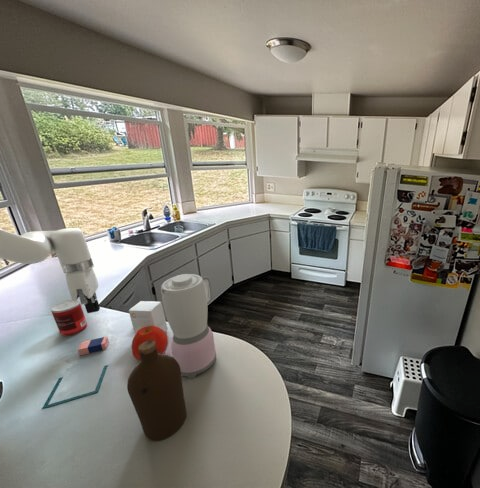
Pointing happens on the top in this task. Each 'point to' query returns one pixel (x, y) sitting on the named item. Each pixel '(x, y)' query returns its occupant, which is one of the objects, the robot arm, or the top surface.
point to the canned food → (69, 317)
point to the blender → (189, 322)
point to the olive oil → (157, 393)
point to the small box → (147, 315)
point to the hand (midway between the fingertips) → (94, 311)
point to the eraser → (93, 345)
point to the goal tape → (72, 397)
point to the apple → (149, 339)
